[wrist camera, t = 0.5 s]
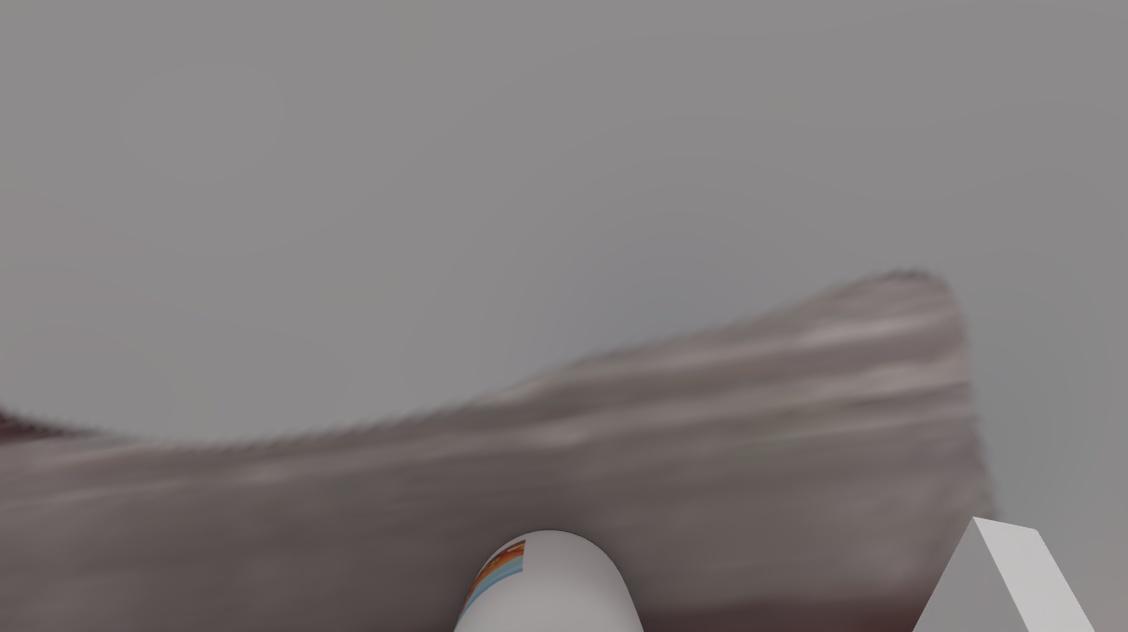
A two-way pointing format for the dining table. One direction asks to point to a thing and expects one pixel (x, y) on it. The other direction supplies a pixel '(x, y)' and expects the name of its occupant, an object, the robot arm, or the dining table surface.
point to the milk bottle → (549, 589)
